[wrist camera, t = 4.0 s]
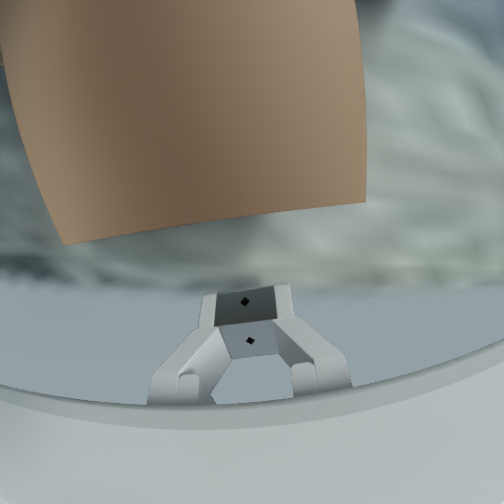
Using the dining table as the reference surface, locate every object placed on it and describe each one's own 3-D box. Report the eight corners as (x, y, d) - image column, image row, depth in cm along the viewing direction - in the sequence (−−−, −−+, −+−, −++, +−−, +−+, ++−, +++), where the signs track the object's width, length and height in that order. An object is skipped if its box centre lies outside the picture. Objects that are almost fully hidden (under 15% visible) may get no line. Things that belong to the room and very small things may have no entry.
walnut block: (282, -60, 5) (312, -141, 1) (311, 134, 9) (365, 201, 5) (96, -17, 5) (-1, -44, 1) (134, 163, 9) (64, 245, 5)
